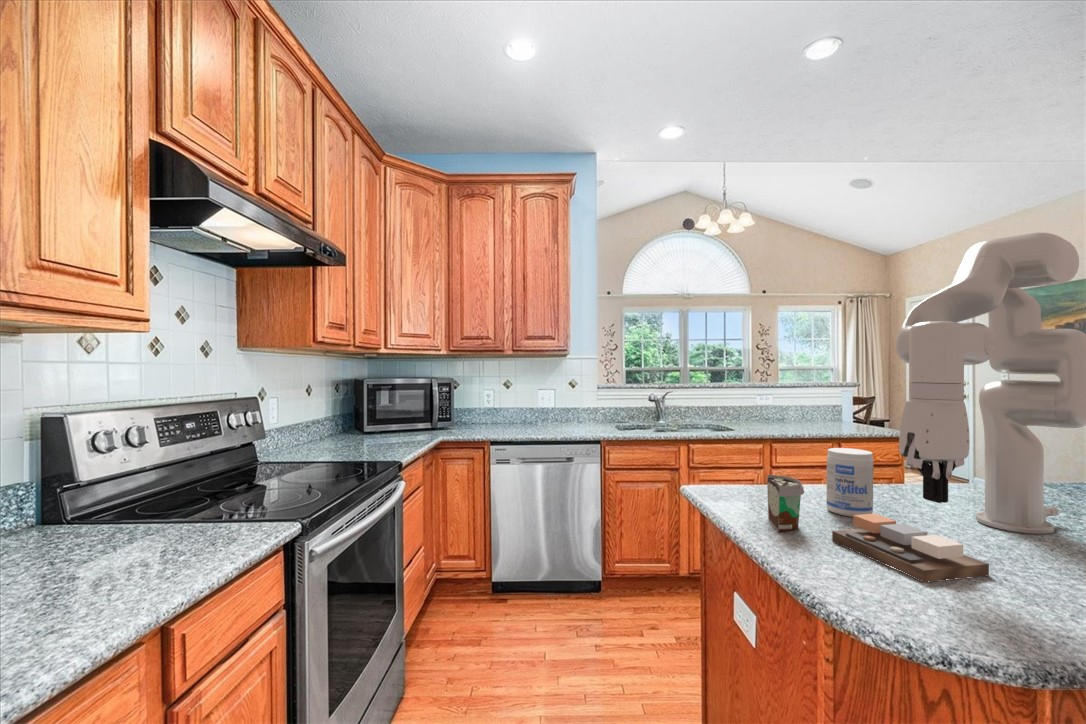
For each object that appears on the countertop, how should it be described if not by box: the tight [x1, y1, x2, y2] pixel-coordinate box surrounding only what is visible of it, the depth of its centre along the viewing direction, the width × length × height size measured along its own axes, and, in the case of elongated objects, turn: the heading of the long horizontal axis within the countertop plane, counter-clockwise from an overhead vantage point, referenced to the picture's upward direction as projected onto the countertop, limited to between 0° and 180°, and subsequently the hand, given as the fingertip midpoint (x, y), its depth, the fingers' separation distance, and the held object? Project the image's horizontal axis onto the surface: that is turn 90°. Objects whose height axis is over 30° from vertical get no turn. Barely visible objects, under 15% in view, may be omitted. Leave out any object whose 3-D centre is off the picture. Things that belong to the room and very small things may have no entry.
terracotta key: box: [852, 513, 897, 533], centre depth 101 cm, size 5×5×2 cm
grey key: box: [880, 522, 928, 545], centre depth 95 cm, size 5×5×2 cm
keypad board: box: [831, 528, 990, 583], centre depth 95 cm, size 13×20×3 cm, turn 11°
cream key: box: [912, 534, 964, 559], centre depth 88 cm, size 5×5×2 cm
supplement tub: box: [825, 447, 874, 518], centre depth 123 cm, size 10×10×15 cm
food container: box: [766, 474, 805, 534], centre depth 113 cm, size 12×6×10 cm, turn 168°
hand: (935, 500), depth 88 cm, fingers closed
